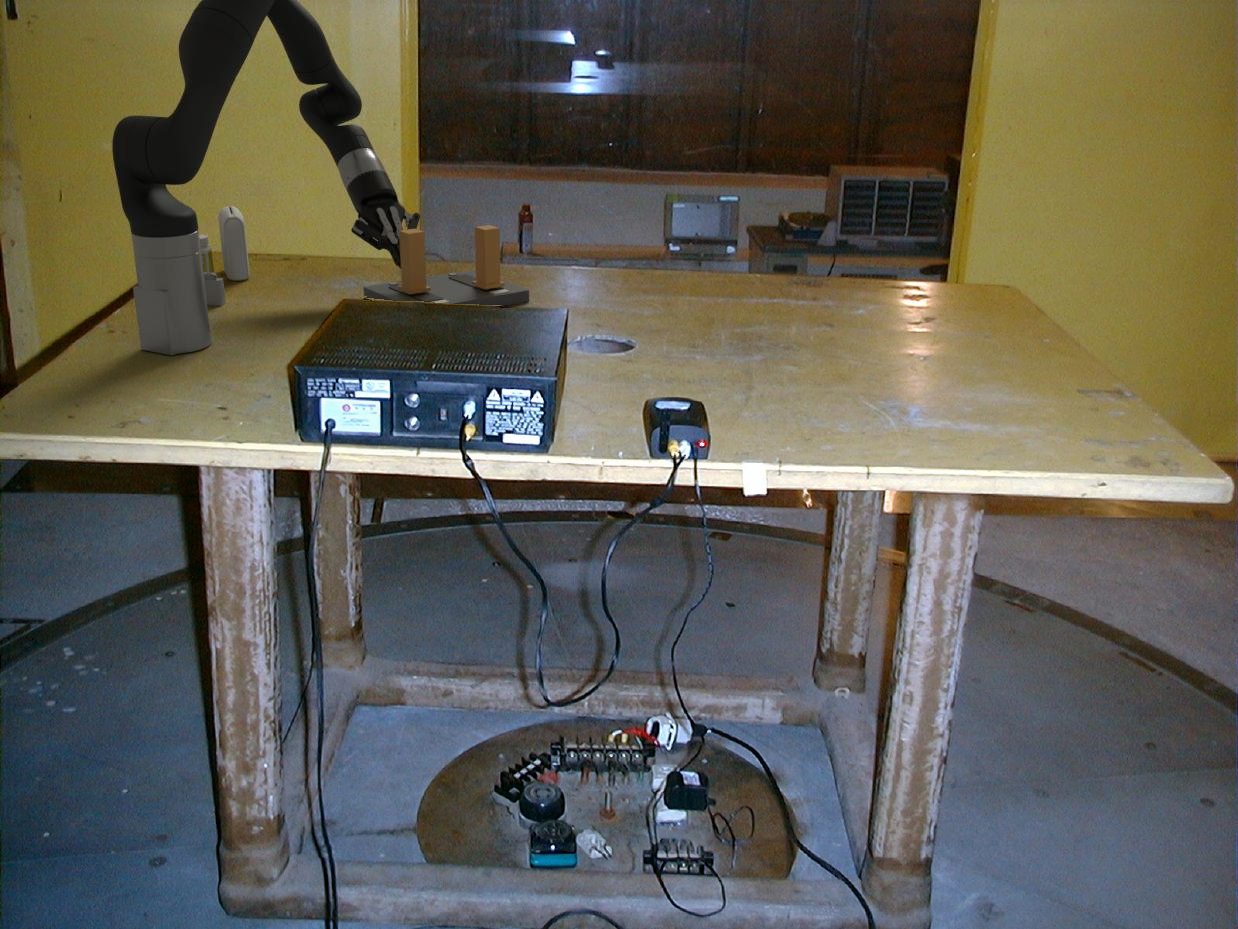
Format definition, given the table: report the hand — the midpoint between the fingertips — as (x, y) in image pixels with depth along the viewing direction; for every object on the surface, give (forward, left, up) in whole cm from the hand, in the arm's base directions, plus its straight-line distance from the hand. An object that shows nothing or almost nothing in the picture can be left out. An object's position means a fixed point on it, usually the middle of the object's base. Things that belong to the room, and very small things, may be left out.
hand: (406, 265), depth 206 cm
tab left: (-1, -2, -4) cm, 4 cm away
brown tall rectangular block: (+8, -11, -4) cm, 14 cm away
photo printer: (0, +38, -7) cm, 39 cm away
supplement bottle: (-8, +39, -6) cm, 40 cm away
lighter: (-18, +29, -7) cm, 35 cm away
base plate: (+4, -5, -6) cm, 9 cm away
